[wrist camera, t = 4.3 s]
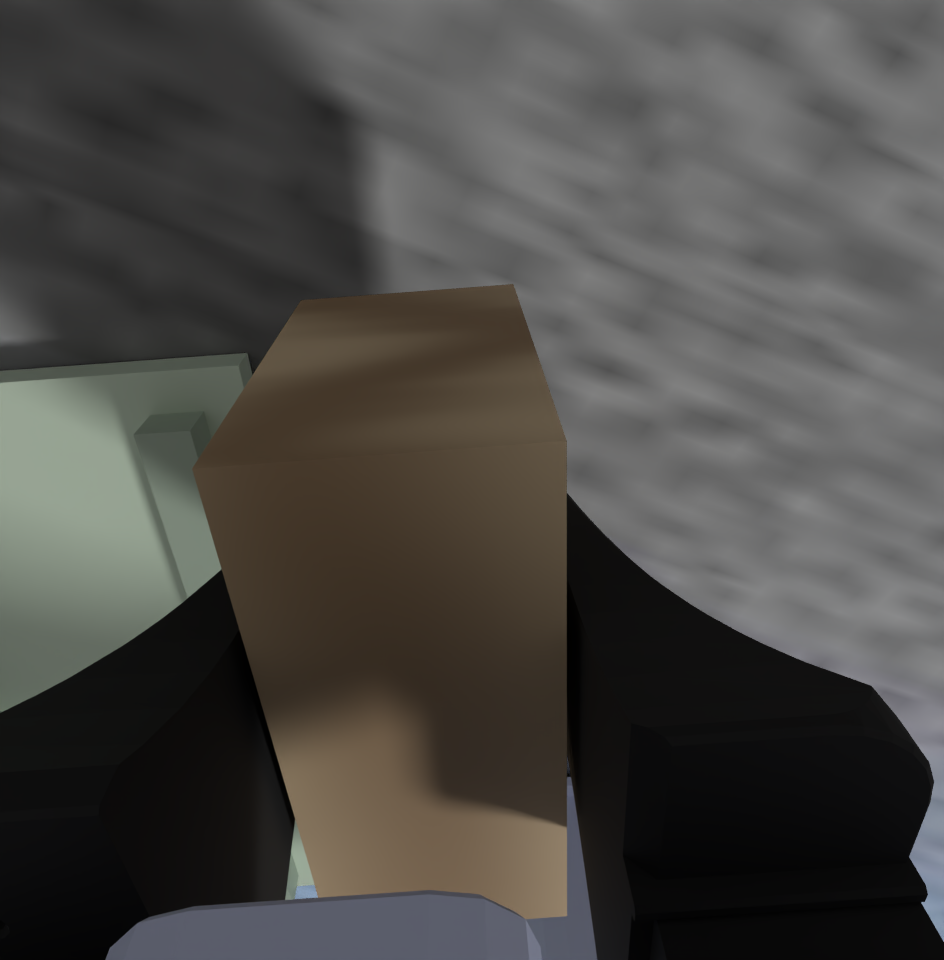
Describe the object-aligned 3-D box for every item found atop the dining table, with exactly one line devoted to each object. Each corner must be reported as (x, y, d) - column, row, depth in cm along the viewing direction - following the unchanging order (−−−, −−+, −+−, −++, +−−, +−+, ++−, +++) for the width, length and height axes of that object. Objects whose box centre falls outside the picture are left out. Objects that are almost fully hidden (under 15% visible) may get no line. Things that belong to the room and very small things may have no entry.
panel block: (513, 284, 12) (567, 440, 7) (526, 642, 16) (567, 915, 11) (300, 300, 12) (192, 468, 7) (366, 654, 16) (328, 933, 11)
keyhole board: (247, 352, 16) (226, 382, 15) (364, 859, 26) (359, 910, 24) (-282, 391, 16) (-360, 425, 15) (30, 883, 26) (3, 935, 24)
